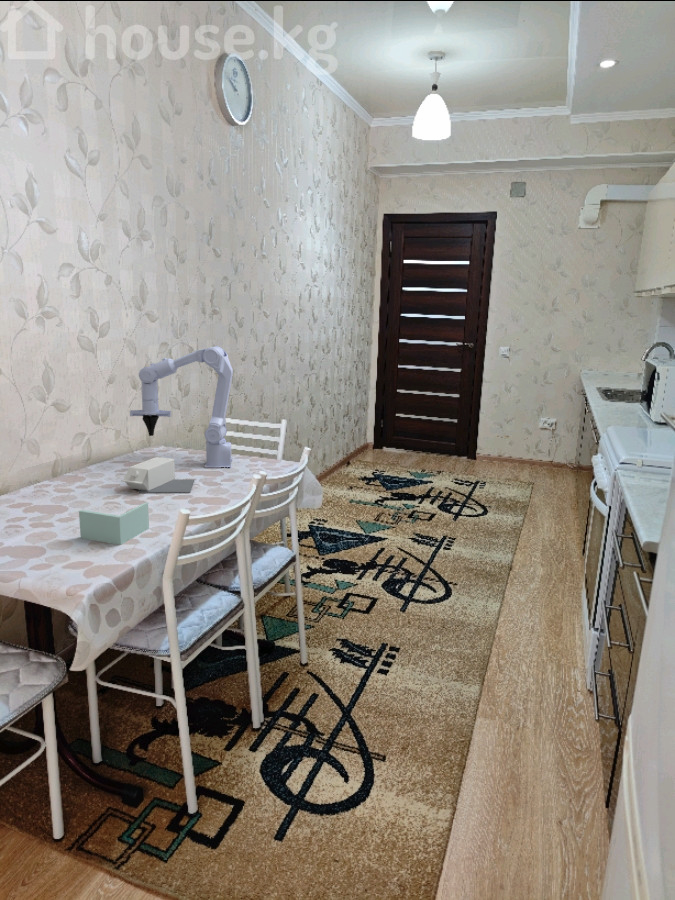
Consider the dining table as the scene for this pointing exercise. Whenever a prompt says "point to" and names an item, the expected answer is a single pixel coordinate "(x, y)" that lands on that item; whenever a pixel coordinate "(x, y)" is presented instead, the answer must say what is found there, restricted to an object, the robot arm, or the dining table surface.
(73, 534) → the dining table surface
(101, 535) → the l-shaped corner panel
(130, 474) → the milk carton
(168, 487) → the mat
